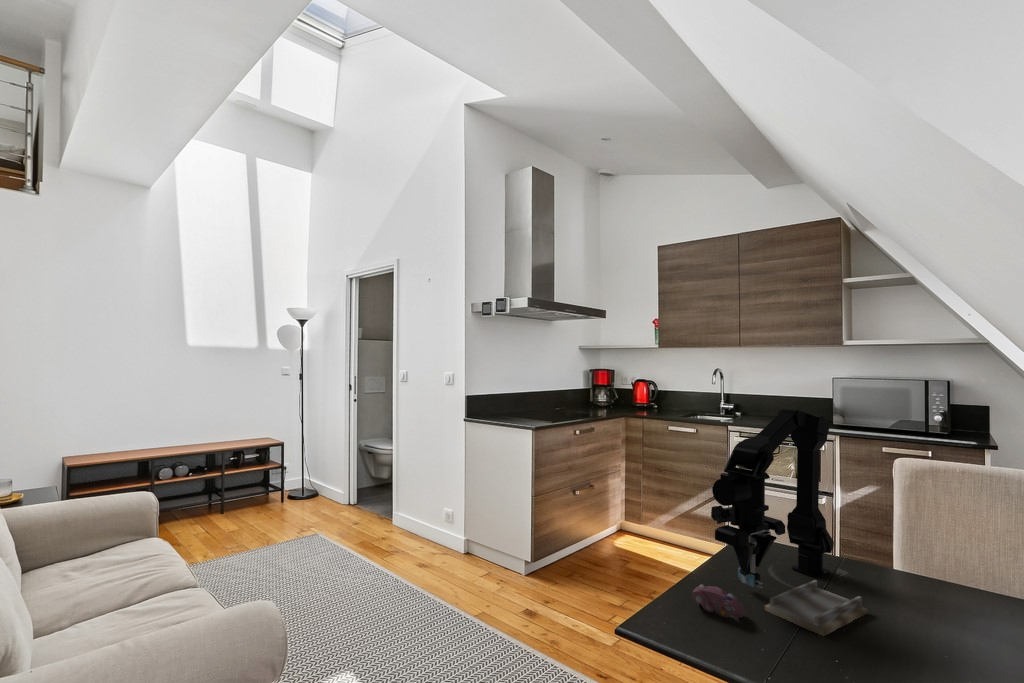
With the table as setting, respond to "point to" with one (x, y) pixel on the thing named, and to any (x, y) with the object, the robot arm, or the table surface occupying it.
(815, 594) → the rail board
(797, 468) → the robot arm
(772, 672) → the table surface
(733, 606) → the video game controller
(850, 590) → the table surface
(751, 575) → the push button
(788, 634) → the table surface
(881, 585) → the table surface
